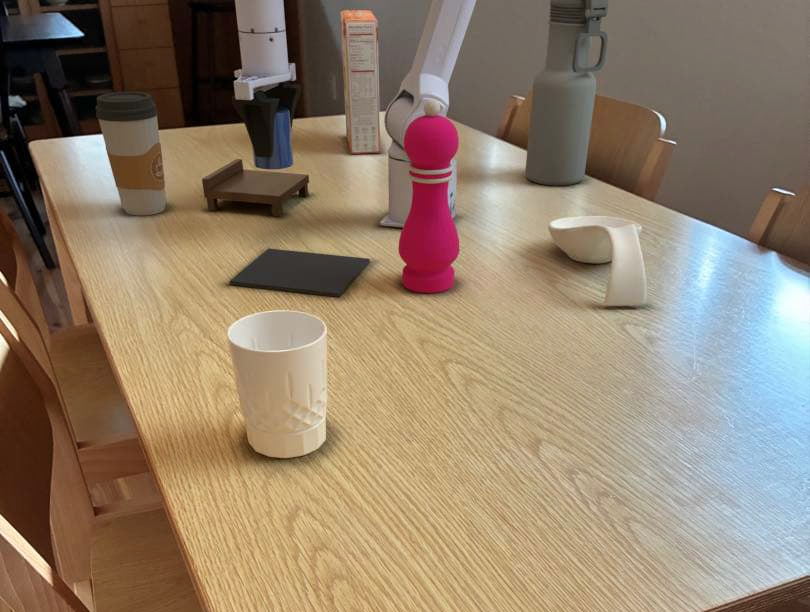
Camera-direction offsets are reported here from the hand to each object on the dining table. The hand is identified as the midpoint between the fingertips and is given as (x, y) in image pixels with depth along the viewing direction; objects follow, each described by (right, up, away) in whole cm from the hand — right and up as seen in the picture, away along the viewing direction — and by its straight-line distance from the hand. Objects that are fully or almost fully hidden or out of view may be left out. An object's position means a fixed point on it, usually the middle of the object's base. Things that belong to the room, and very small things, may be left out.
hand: (273, 151), depth 106 cm
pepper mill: (+20, -20, -8) cm, 30 cm away
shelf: (-5, 0, +17) cm, 18 cm away
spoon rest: (+42, -18, -5) cm, 46 cm away
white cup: (+7, -43, -36) cm, 57 cm away
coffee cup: (-21, -2, +14) cm, 26 cm away
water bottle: (+43, +9, +28) cm, 52 cm away
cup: (0, -1, +1) cm, 2 cm away
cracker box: (+9, +23, +46) cm, 52 cm away
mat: (+5, -18, -6) cm, 20 cm away
